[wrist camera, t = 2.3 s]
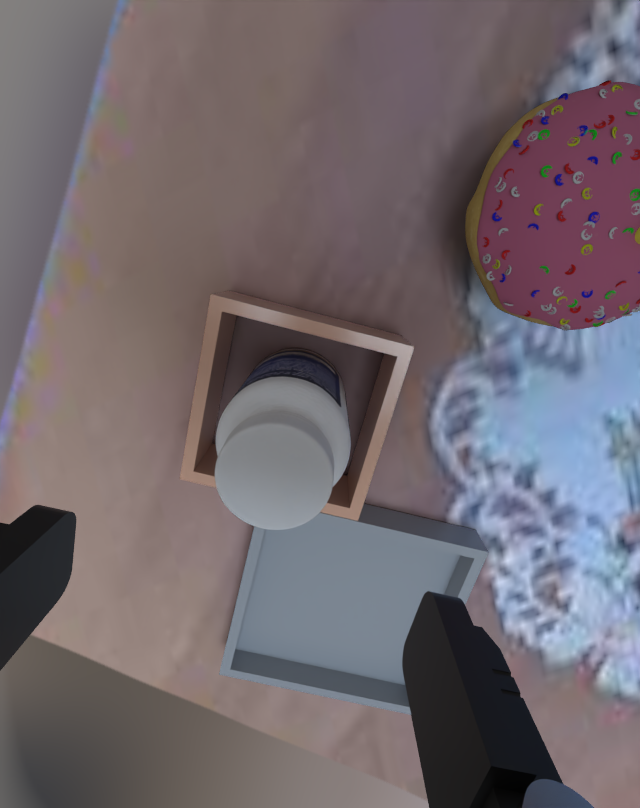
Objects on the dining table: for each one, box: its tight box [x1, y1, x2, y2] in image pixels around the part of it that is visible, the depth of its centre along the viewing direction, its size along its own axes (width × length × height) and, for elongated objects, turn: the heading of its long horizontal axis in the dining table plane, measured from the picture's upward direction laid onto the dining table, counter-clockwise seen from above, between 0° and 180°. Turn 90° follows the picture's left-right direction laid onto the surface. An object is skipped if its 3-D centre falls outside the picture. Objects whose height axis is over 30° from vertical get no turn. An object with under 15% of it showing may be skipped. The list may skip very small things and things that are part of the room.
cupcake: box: [465, 81, 640, 330], centre depth 15 cm, size 9×8×12 cm
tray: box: [219, 504, 488, 715], centre depth 26 cm, size 13×13×2 cm
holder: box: [180, 291, 414, 521], centre depth 21 cm, size 9×9×4 cm
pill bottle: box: [215, 349, 351, 530], centre depth 18 cm, size 5×5×10 cm
